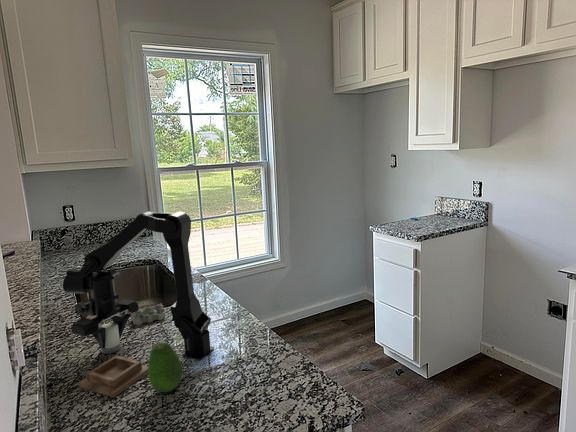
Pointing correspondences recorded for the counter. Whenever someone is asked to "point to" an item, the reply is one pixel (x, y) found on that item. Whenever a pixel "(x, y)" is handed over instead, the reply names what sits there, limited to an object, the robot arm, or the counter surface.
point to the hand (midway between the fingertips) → (110, 344)
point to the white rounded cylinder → (111, 338)
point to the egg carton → (148, 314)
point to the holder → (114, 376)
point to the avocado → (164, 368)
